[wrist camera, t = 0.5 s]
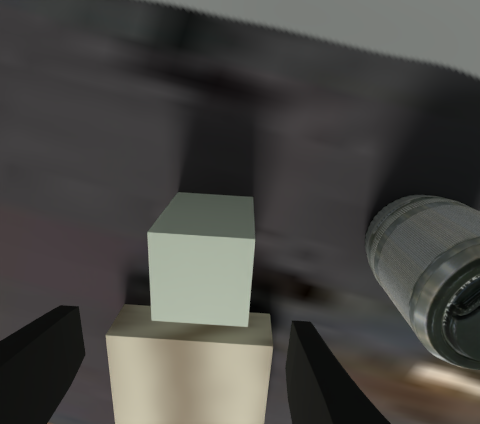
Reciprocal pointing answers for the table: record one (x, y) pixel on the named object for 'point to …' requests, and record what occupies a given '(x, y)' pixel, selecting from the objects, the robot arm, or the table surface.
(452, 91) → the table surface
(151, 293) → the sage block
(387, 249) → the camera lens
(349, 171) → the table surface
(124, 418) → the birch block
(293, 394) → the robot arm
